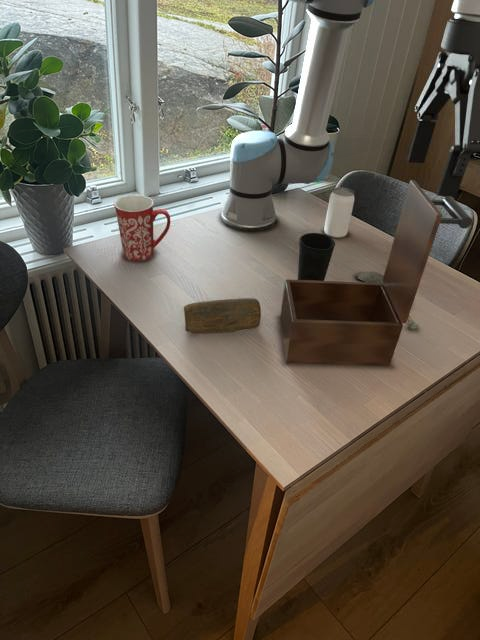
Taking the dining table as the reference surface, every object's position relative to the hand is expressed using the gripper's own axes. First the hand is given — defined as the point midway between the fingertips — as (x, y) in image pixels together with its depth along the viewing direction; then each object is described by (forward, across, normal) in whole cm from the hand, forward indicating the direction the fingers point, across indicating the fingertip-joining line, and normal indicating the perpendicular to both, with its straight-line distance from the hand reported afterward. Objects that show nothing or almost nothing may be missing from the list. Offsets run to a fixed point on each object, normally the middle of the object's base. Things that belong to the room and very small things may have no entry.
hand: (429, 177), depth 75 cm
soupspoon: (+34, -14, +6) cm, 37 cm away
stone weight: (+34, -3, -32) cm, 46 cm away
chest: (+34, +1, -10) cm, 35 cm away
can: (+34, -46, 0) cm, 57 cm away
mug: (+34, -31, -50) cm, 68 cm away
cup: (+34, -18, -11) cm, 40 cm away
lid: (+13, +1, 0) cm, 13 cm away
